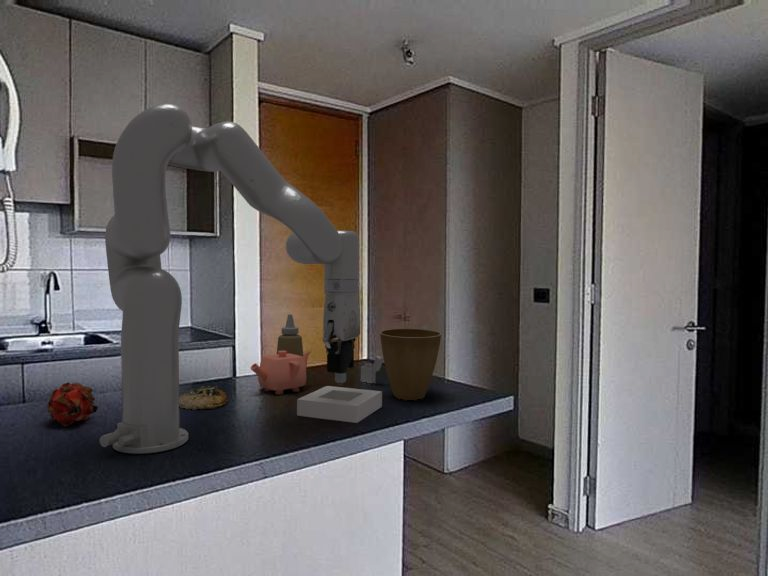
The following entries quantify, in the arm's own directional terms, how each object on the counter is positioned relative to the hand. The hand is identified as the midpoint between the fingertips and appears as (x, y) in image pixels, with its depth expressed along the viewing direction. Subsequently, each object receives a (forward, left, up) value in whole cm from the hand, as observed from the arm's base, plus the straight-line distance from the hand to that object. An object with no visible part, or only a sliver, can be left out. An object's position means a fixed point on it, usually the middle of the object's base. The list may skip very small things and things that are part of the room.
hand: (340, 368), depth 124 cm
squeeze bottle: (+24, +27, -10) cm, 37 cm away
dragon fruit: (-29, +46, -10) cm, 55 cm away
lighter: (+28, +4, -10) cm, 30 cm away
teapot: (+12, +22, -10) cm, 27 cm away
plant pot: (+18, -10, -10) cm, 23 cm away
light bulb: (0, 0, -4) cm, 4 cm away
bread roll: (-7, +31, -10) cm, 34 cm away
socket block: (0, 0, -9) cm, 9 cm away
